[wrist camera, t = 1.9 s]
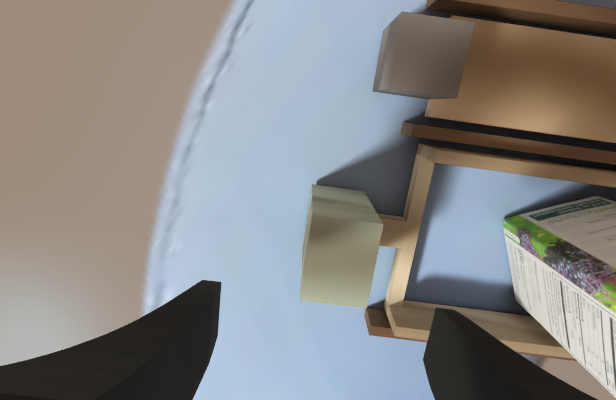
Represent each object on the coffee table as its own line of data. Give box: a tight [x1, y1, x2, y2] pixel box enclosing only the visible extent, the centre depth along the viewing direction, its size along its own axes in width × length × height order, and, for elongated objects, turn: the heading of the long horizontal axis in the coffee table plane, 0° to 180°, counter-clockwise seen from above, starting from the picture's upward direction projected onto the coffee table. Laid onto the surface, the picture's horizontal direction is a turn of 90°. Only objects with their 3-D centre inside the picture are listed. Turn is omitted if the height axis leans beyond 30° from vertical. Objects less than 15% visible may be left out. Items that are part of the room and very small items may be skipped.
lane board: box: [365, 0, 616, 361], centre depth 20 cm, size 18×17×2 cm
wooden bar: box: [373, 12, 616, 143], centre depth 17 cm, size 5×17×4 cm, turn 82°
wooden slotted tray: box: [300, 143, 616, 359], centre depth 19 cm, size 10×20×6 cm, turn 82°
